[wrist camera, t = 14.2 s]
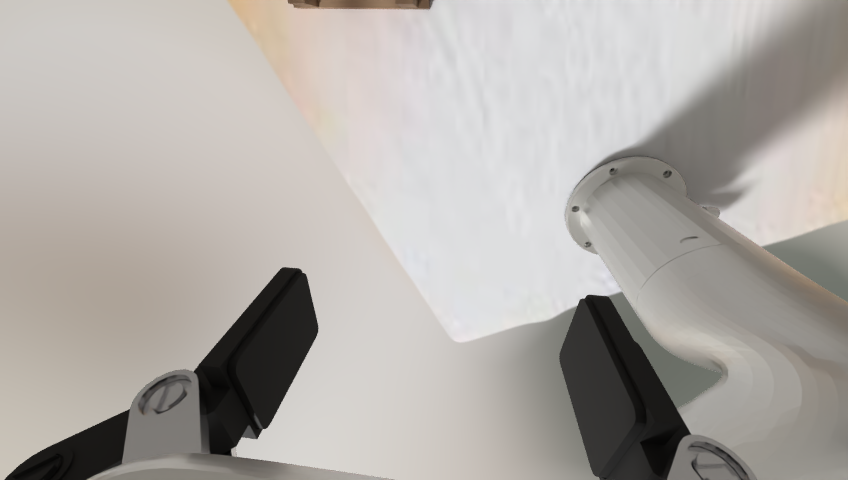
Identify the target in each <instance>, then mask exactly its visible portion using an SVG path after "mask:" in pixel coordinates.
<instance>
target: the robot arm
mask: <svg viewBox="0 0 848 480" xmlns="http://www.w3.org/2000/svg"><path fill="white" fill-rule="evenodd" d="M612 168H613V169H612ZM611 169H612V170H611ZM610 170H611V171H610ZM574 206H575V207H574ZM719 215H720V210H719V209H718V208H714V207H701V206H699V205H698V204H696V203H695V202H693V201H692V200H690V199H689V198H687V189H686V184H685V182H684V180H683V178H682V176H681V175H680V174H679V173H678V172H677V170H676V169H674V168H673V167H671V166H670V165H668V164H666V163H664V162H662V161H660V160H658V159H654V158H650V157H640V156H634V157H626V158H621V159H618V160H614V161H611V162H609V163H607V164H605V165H603V166H600V167H599V168H597V169H596V170H594V171H593V172H591V173H590V174H589V175H587V176H586V177H585V178H584V179H583V180H582V181H581V182H580V183H579V184H578V186H577V187H576V188H575V189H574V191H573V193H572V194H571V196H570V198H569V200H568V203H567V206H566V212H565V221H566V226H567V229H568V232H569V233H570V235H571V237H572V239H573V240H574V241H575V242H576V243H577V244H578V245H579V246H580V247H581V248H583V249H584V250H586V251H589V252H591V253H593V254H598V255H599V256H600V257H601V259H602V261H603V262H604V264H605V265H606V267H607V268H608V270H609V271H610V273H611V275H612V276H613V278H614V279H615V281H616V282H617V284H618V286H619V287H620V289H621V290H622V292H623V293H624V295H625V297H626V298H627V300H628V301H629V303H630V304H631V306H632V307H633V309H634V311H635V312H636V313H637V315H638V317H639V319H640V320H641V321H642V323H643V324H644V326H645V327H646V329H647V330H648V332H649V333H650V334H651V336H652V337H653V338H654V339H655V340H656V341H657V342H658V343H659V344H660V345H661V346H662V347H663V348H665V349H666V350H668V351H669V352H670V353H672V354H674V355H675V356H677V357H679V358H681V359H683V360H685V361H687V362H690V363H693V364H695V365H698V366H700V367H704V368H706V369H710V370H713V371H716V372H720V373H722V376H721V378H720V380H719V381H718V382H717V383H716V384H715V385H713V386H712V387H710V388H709V389H707V390H706V391H704V392H703V393H701V394H699V395H698V396H697V398H695V399H693V400H691V401H690V402H688V403H686V404H685V405H683V406H681V407H679V408H678V409H676V407H675V405H674V404H673V402H672V400H671V398H670V397H669V395H668V393H667V391H666V390H665V388H664V387H663V385H662V383H661V381H660V379H659V378H658V376H657V374H656V373H655V371H654V369H653V367H652V366H651V364H650V362H649V360H648V359H647V357H646V355H645V354H644V352H643V350H642V348H641V347H640V346H639V344H638V343H636V342H635V341H634V340H633V338H632V336H631V335H630V333H629V331H628V329H627V328H626V326H625V324H624V322H623V321H622V319H621V317H620V315H619V314H618V312H617V310H616V308H615V307H614V305H613V303H612V301H611V300H610V299H609V297H607V296H597V295H587V296H586V298H585V299H581V300H580V301H579V304H578V306H577V309H576V312H575V314H574V317H573V319H572V322H571V325H570V327H569V330H568V333H567V335H566V338H565V341H564V343H563V346H562V349H561V352H560V364H561V368H562V371H563V374H564V378H565V381H566V385H567V388H568V392H569V395H570V398H571V402H572V405H573V408H574V412H575V415H576V418H577V422H578V426H579V429H580V432H581V435H582V439H583V443H584V446H585V450H586V452H587V456H588V460H589V463H590V467H591V469H592V472H593V474H594V475H595V476H597V477H599V478H600V480H848V302H846V301H844V300H843V299H841V298H840V297H838V296H836V295H835V294H833V293H831V292H830V291H828V290H826V289H824V288H823V287H821V286H820V285H818V284H816V283H815V282H813V281H812V280H810V279H809V278H807V277H806V276H804V275H802V274H801V273H799V272H798V271H796V270H795V269H793V268H792V267H790V266H789V265H787V264H786V263H784V262H783V261H781V260H779V259H778V258H777V257H775V256H773V255H772V254H771V253H769V252H768V251H766V250H764V249H763V248H762V247H760V246H759V245H757V244H756V243H754V242H753V241H751V240H750V239H748V238H747V237H745V236H744V235H742V234H741V233H739V232H738V231H736V230H735V229H733V228H732V227H730V226H729V225H727V224H726V223H725V222H723V221H722V220H720V219H719V218H718V217H719ZM317 333H318V323H317V319H316V314H315V310H314V306H313V302H312V297H311V293H310V289H309V284H308V280H307V276H306V274H304V273H302V271H301V270H300V269H298V268H286V267H284V268H281V269H280V271H279V272H278V273H277V274H276V275H275V276H274V277H273V279H272V280H271V281H270V282H269V283H268V284H267V286H266V287H265V288H264V289H263V290H262V291H261V293H260V294H259V295H258V296H257V297H256V299H255V300H254V301H253V302H252V303H251V304H250V305H249V307H248V308H247V309H246V310H245V311H244V312H243V314H242V315H241V316H240V317H239V318H238V320H237V321H236V322H235V323H234V324H233V325H232V327H231V328H230V329H229V330H228V331H227V332H226V334H225V335H224V336H223V337H222V338H221V340H220V341H219V342H218V343H217V344H216V345H215V346H214V348H213V349H212V350H211V351H210V352H209V354H208V355H207V356H206V357H205V358H204V359H203V361H202V362H201V363H200V364H199V366H198V367H197V368H196V369H195V371H194V372H192V371H189V370H175V371H172V372H169V373H166V374H164V375H162V376H160V377H158V378H156V379H155V380H153V381H152V382H150V383H149V384H147V385H146V386H145V387H144V388H143V389H142V390H141V391H140V392H139V393H138V394H137V396H136V397H135V399H134V400H133V402H132V405H131V407H130V409H129V410H127V411H125V412H123V413H120V414H118V415H116V416H114V417H112V418H110V419H107V420H105V421H103V422H101V423H99V424H97V425H95V426H92V427H91V428H88V429H86V430H84V431H82V432H80V433H78V434H75V435H73V436H71V437H69V438H67V439H65V440H63V441H60V442H58V443H56V444H54V445H52V446H50V447H48V448H46V449H44V450H42V451H40V452H38V453H37V454H35V455H33V456H31V457H30V458H29V459H27V460H26V461H25V462H23V463H22V464H20V465H19V466H18V467H17V468H16V469H15V470H14V471H13V472H12V473H11V474H9V475H8V476H7V477H6V479H5V480H393V479H386V478H379V477H373V476H366V475H359V474H353V473H347V472H339V471H333V470H326V469H319V468H312V467H306V466H299V465H292V464H286V463H279V462H271V461H264V460H255V459H248V458H240V457H237V454H236V446H237V444H238V442H239V440H240V439H241V437H245V438H251V439H258V437H259V435H260V433H261V431H262V429H266V428H267V427H268V426H269V425H270V423H271V421H272V419H273V418H274V416H275V414H276V412H277V410H278V408H279V406H280V404H281V402H282V401H283V399H284V397H285V395H286V392H287V391H288V389H289V387H290V385H291V384H292V382H293V380H294V378H295V376H296V374H297V372H298V370H299V368H300V366H301V364H302V363H303V361H304V359H305V357H306V355H307V353H308V351H309V349H310V348H311V346H312V344H313V342H314V340H315V338H316V336H317Z"/></svg>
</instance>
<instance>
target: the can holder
mask: <svg viewBox="0 0 848 480" xmlns="http://www.w3.org/2000/svg"><path fill="white" fill-rule="evenodd" d="M288 3H289V4H293V5H294V7H295V8H322V9H430V0H288Z"/></svg>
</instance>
